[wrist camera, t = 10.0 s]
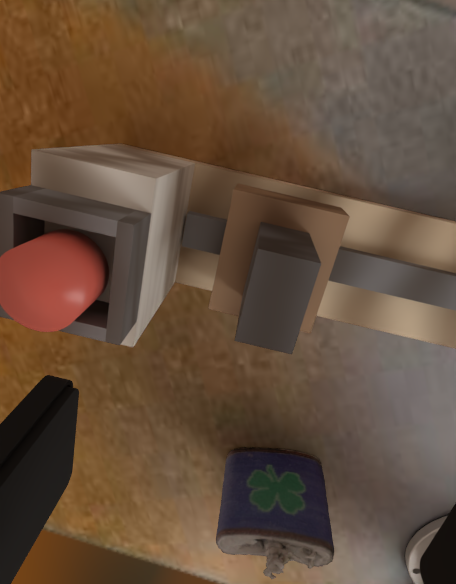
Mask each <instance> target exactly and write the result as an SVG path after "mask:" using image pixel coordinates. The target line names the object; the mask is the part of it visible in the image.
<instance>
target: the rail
mask: <svg viewBox="0 0 456 584" xmlns="http://www.w3.org/2000/svg"><path fill="white" fill-rule="evenodd" d="M238 183H239V184H243V185H247V186H251V187H256V188H260V189H264V190H269V191H273V192H277V193H281V194H286V195H290V196H294V197H299V198H303V199H307V200H311V201H316V202H320V203H324V204H329V205H333V206H337V207H341V208H342V209H343V210H344V211H345V212H346V213H347V214H348V215H349V216H350V218H349V221H348V223H347V226H346V229H345V232H344V235H343V238H342V241H341V244H340V247H339V250H338V253H337V256H336V259H335V262H334V265H333V268H332V271H331V274H330V277H329V280H328V283H327V286H326V289H325V292H324V295H323V298H322V301H321V303H320V306H319V309H318V312H317V315H316V316H320V317H324V318H328V319H333V320H337V321H341V322H345V323H349V324H354V325H358V326H362V327H366V328H371V329H375V330H379V331H383V332H388V333H392V334H396V335H400V336H404V337H409V338H413V339H417V340H421V341H426V342H430V343H434V344H438V345H442V346H447V347H451V348H455V349H456V221H452V220H447V219H443V218H439V217H434V216H430V215H426V214H422V213H417V212H413V211H409V210H404V209H400V208H396V207H391V206H387V205H383V204H379V203H374V202H370V201H366V200H361V199H357V198H353V197H348V196H344V195H340V194H336V193H331V192H327V191H323V190H318V189H314V188H310V187H306V186H301V185H297V184H293V183H288V182H284V181H280V180H275V179H271V178H267V177H263V176H258V175H254V174H250V173H245V172H241V171H237V170H232V169H228V168H224V167H220V166H215V165H211V164H207V163H202V162H198V161H194V160H190V159H185V158H181V157H177V156H172V155H168V154H164V153H159V152H155V151H151V150H147V149H142V148H138V147H134V146H129V145H125V144H107V145H92V146H77V147H62V148H47V149H32V153H31V185H29V186H25V187H20V188H15V189H11V190H6V191H1V192H0V257H1V256H2V255H3V254H4V253H5V252H7V251H9V250H10V249H13V248H15V247H17V246H19V245H22V244H24V243H26V242H28V241H31V240H33V239H35V238H37V237H39V236H42V235H44V234H46V233H48V232H51V231H54V230H58V229H70V230H74V231H78V232H80V233H82V234H84V235H86V236H88V237H89V238H90V239H92V240H93V241H94V242H95V243H96V244H97V245H98V246H99V247H100V249H101V250H102V252H103V253H104V255H105V257H106V260H107V262H108V266H109V280H108V284H107V287H106V289H105V290H104V292H103V293H102V294H101V295H100V296H99V297H98V298H97V299H96V300H95V301H94V302H93V303H92V304H91V305H90V306H89V307H88V308H87V309H86V310H85V311H84V312H83V313H82V314H81V315H80V316H78V317H77V318H76V319H75V320H74V321H73V322H72V323H71V324H70V325H68V326H67V327H65V328H63V329H61V330H58V331H62V332H66V333H70V334H75V335H79V336H83V337H87V338H91V339H96V340H100V341H104V342H108V343H112V344H117V345H120V344H122V345H126V346H130V347H134V345H135V344H136V342H137V341H138V339H139V337H140V336H141V334H142V333H143V331H144V330H145V328H146V327H147V325H148V323H149V322H150V320H151V319H152V317H153V316H154V314H155V312H156V311H157V309H158V308H159V306H160V305H161V303H162V302H163V300H164V298H165V297H166V295H167V294H168V292H169V291H170V289H171V287H172V286H173V284H174V283H175V282H176V283H180V284H185V285H189V286H193V287H197V288H201V289H206V290H210V291H212V289H213V284H214V280H215V275H216V270H217V266H218V261H219V256H220V252H221V247H222V242H223V238H224V233H225V228H226V224H227V219H228V214H229V210H230V205H231V200H232V196H233V191H234V188H235V187H236V185H237V184H238ZM0 317H3V318H8V319H12V320H14V319H13V318H12V317H10V316H9V315H8V314H7V313H6V312H5V310H4V309H3V308H2V306H1V305H0Z"/></svg>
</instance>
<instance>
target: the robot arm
mask: <svg viewBox="0 0 456 584" xmlns="http://www.w3.org/2000/svg"><path fill="white" fill-rule="evenodd" d="M78 397H79V390H78V389H76V388H73V383H72V381H70V380H66V379H62V378H58V377H54V376H50V375H47V376H45V377H44V378H43V379H42V380H41V381H40V382H39V383H38V384H37V385H36V386H35V387H34V388H33V389H32V390H31V392H30V393H29V394H28V395H27V396H26V397H25V398H24V399H23V400H22V401H21V402H20V403H19V405H18V406H17V407H16V408H15V409H14V410H13V411H12V412H11V413H10V414H9V415H8V416H7V417H6V419H5V420H4V421H3V422H2V423H1V424H0V584H11V583H12V581H13V579H14V577H15V576H16V574H17V572H18V570H19V569H20V567H21V565H22V563H23V561H24V560H25V558H26V556H27V555H28V553H29V551H30V549H31V548H32V546H33V544H34V542H35V541H36V539H37V537H38V535H39V534H40V532H41V530H42V529H43V527H44V525H45V523H46V522H47V520H48V518H49V516H50V515H51V513H52V511H53V509H54V508H55V506H56V504H57V503H58V501H59V499H60V497H61V496H62V494H63V492H64V490H65V489H66V487H67V485H68V483H69V480H70V477H71V474H72V468H73V456H74V444H75V433H76V421H77V409H78ZM405 561H406V566H407V569H408V572H409V575H410V577H411V579H412V580H413V582H414V584H456V504H455V505H454V507H453V508H452V510H451V511H450V513H449V515H448V516H445V517H442V518H440V519H437V520H435V521H432V522H431V523H429V524H427V525H426V526H424V527H423V528H422V529H420V530H419V531H418V532H417V533H416V534H415V535H414V536H413V538H412V539H411V540H410V542H409V544H408V546H407V548H406V553H405Z"/></svg>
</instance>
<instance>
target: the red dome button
mask: <svg viewBox="0 0 456 584" xmlns="http://www.w3.org/2000/svg"><path fill="white" fill-rule="evenodd" d="M108 280H109V266H108V262H107V260H106V257H105V255H104V253H103V252H102V250H101V249H100V247H99V246H98V245H97V244H96V243H95V242H94V241H93V240H92V239H90V238H89V237H88V236H86V235H84V234H82V233H80V232H78V231H74V230H70V229H58V230H54V231H51V232H48V233H46V234H44V235H42V236H39V237H37V238H35V239H33V240H31V241H28V242H26V243H24V244H22V245H19V246H17V247H15V248H13V249H10V250H9V251H7V252H5V253H4V254H3V255H2V256H1V257H0V305H1V306H2V308H3V309H4V310H5V312H6V313H7V314H8V315H9V316H10V317H12V318H13V319H14V320H15V321H17V322H18V323H20V324H21V325H23V326H25V327H27V328H30V329H33V330H36V331H42V332H53V331H58V330H61V329H63V328H65V327H67V326H68V325H70V324H71V323H72V322H73V321H74V320H75V319H76V318H77V317H78V316H80V315H81V314H82V313H83V312H84V311H85V310H86V309H87V308H88V307H89V306H90V305H91V304H92V303H93V302H94V301H95V300H96V299H97V298H98V297H99V296H100V295H101V294H102V293H103V292H104V290H105V289H106V287H107V284H108Z"/></svg>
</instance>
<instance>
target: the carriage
mask: <svg viewBox="0 0 456 584" xmlns="http://www.w3.org/2000/svg"><path fill="white" fill-rule="evenodd" d="M349 218H350V216H349V215H348V214H347V213H346V212H345V211H344V210H343V209H342V208H341V207H337V206H333V205H329V204H324V203H320V202H316V201H311V200H307V199H303V198H299V197H294V196H290V195H286V194H281V193H277V192H273V191H269V190H264V189H260V188H256V187H251V186H247V185H243V184H239V183H238V184H237V185H236V187H235V188H234V191H233V196H232V200H231V205H230V210H229V214H228V219H227V224H226V228H225V233H224V238H223V242H222V247H221V252H220V256H219V261H218V266H217V270H216V275H215V280H214V284H213V289H212V294H211V298H210V303H209V308H208V309H210V310H214V311H219V312H223V313H227V314H231V315H236V316H239V319H238V325H237V330H236V336H235V341H238V342H242V343H246V344H250V345H255V346H259V347H263V348H267V349H271V350H276V351H280V352H284V353H288V354H292V353H293V350H294V347H295V343H296V340H297V337H298V334H299V331H303V332H307V333H311V330H312V327H313V324H314V321H315V318H316V315H317V312H318V309H319V306H320V303H321V301H322V298H323V295H324V292H325V289H326V286H327V283H328V280H329V277H330V274H331V271H332V268H333V265H334V262H335V259H336V256H337V253H338V250H339V247H340V244H341V241H342V238H343V235H344V232H345V229H346V226H347V223H348V221H349Z"/></svg>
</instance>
